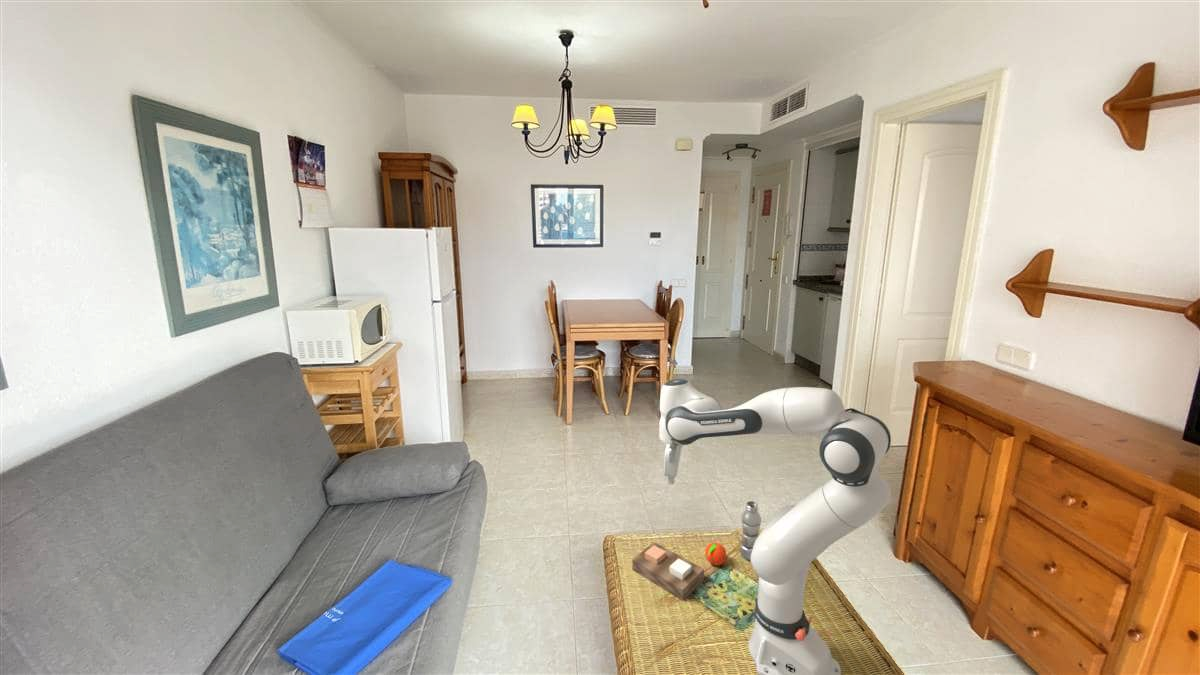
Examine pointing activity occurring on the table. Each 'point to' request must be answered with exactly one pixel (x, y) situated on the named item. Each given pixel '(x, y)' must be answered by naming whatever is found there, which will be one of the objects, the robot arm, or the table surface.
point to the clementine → (715, 553)
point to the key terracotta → (655, 555)
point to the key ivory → (680, 569)
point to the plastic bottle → (749, 529)
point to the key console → (663, 577)
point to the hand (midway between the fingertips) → (673, 474)
